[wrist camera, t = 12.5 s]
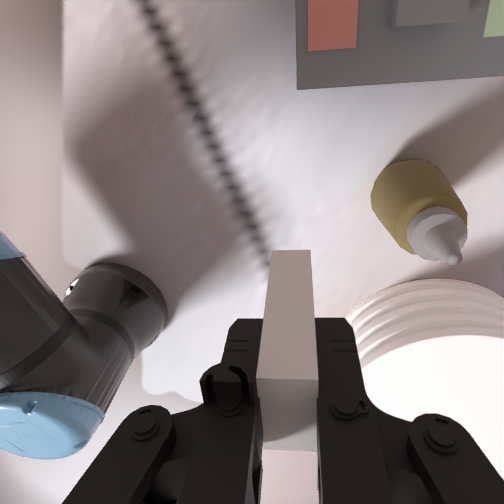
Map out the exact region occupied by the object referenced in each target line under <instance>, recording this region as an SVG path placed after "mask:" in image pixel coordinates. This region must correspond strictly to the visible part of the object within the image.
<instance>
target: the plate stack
mask: <svg viewBox="0 0 504 504" xmlns="http://www.w3.org/2000/svg"><path fill="white" fill-rule="evenodd" d="M345 319H346V320H347V321H348V322H349V324H350V325H351V326H352V327H353V330H354V335H355V340H356V345H357V350H358V355H359V360H360V365H361V370H362V375H363V381H364V386H365V390H366V393H367V396H368V397H369V399H370V400H371V402H372V403H373V404H374V405H375V406H376V407H377V408H379V409H380V410H382V411H383V412H385V413H387V414H390V415H392V416H394V417H398V418H401V419H404V420H407V421H411V422H412V421H413V420H414V419H415V418H416V417H417V416H420V415H422V414H425V413H437V414H440V415H444V416H447V417H450V418H451V419H453V420H455V421H456V422H458V423H460V424H461V425H462V426H463V427H464V428H465V429H466V430H467V431H468V432H469V433H470V435H471V436H472V437H473V439H474V440H475V441H476V443H477V444H478V446H479V447H480V448H481V450H482V451H483V453H484V454H485V455H486V457H487V458H488V459H489V461H490V462H491V464H492V465H493V466H494V468H495V469H496V471H497V472H498V473H499V475H500V476H501V477H502V478H503V477H504V298H503V297H501V296H500V295H498V294H497V293H495V292H493V291H491V290H489V289H487V288H485V287H483V286H480V285H477V284H474V283H470V282H466V281H461V280H454V279H423V280H416V281H410V282H406V283H402V284H398V285H395V286H392V287H389V288H387V289H384V290H382V291H380V292H378V293H376V294H374V295H372V296H370V297H368V298H367V299H365V300H364V301H362V302H361V303H360V304H358V305H357V306H356V307H355V308H353V309H352V310H351V311H350V312H349V313H348V314H347V315H346V317H345Z"/></svg>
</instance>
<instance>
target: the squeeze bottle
mask: <svg viewBox="0 0 504 504" xmlns="http://www.w3.org/2000/svg"><path fill="white" fill-rule="evenodd" d="M371 205H372V209H373V211H374V212H375V214H376V216H377V217H378V219H379V220H380V221H381V223H382V224H383V225H384V227H385V228H386V229H387V230H388V232H389V233H390V234H391V235H392V237H393V238H394V239H395V241H396V242H397V243H398V244H399V246H400V247H401V248H403V249H404V250H406V251H408V252H409V253H411V254H416V255H418V256H420V257H421V258H423V259H426V260H431V261H437V260H443V261H445V262H446V263H448V264H449V265H457V264H459V263H460V262H461V260H462V254H461V250H460V249H461V248H462V247H463V245H464V243H465V241H466V239H467V212H466V210H465V208H464V206H463V204H462V202H461V200H460V199H459V197H458V196H457V194H456V193H455V191H454V190H453V188H452V187H451V185H450V184H449V182H448V181H447V179H446V178H445V176H444V175H443V173H442V172H441V170H440V169H438V168H437V167H436V166H434V165H433V164H431V163H430V162H428V161H422V160H417V159H411V160H405V161H400V162H395V163H393V164H391V165H389V166H388V167H386V168H385V169H384V170H383V171H382V172H381V173H380V175H379V176H378V177H377V179H376V181H375V183H374V186H373V189H372V192H371Z"/></svg>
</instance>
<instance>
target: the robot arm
mask: <svg viewBox="0 0 504 504" xmlns="http://www.w3.org/2000/svg"><path fill="white" fill-rule="evenodd" d="M166 317H167V309H166V304H165V301H164V299H163V296H162V295H161V293H160V291H159V290H158V288H157V287H156V286H155V285H154V284H153V283H152V282H151V281H150V280H149V279H148V278H147V277H145V276H144V275H142V274H141V273H139V272H137V271H135V270H133V269H131V268H128V267H126V266H122V265H117V264H98V265H94V266H91V267H89V268H87V269H85V270H84V271H82V272H81V273H80V274H79V275H78V276H77V277H76V278H75V279H74V280H73V281H72V283H71V284H70V286H69V287H68V289H67V291H66V294H65V298H64V300H63V303H62V302H61V301H60V299H59V298H58V297H57V296H56V295H55V293H54V292H53V291H52V289H51V288H50V287H49V286H48V285H47V283H46V282H45V281H44V280H43V278H42V277H41V276H40V275H39V273H38V272H37V271H36V270H35V269H34V267H33V266H32V265H31V263H30V262H29V261H28V260H27V259H26V255H25V254H24V253H22V252H20V251H19V250H18V249H17V248H16V247H15V246H14V245H13V243H12V242H11V241H10V240H9V239H8V238H7V237H6V236H5V235H4V234H3V233H2V232H1V231H0V449H2V450H5V451H8V452H10V453H13V454H16V455H20V456H23V457H29V458H35V459H59V458H65V457H68V456H71V455H73V454H75V453H77V452H78V451H80V450H81V449H82V448H84V447H85V446H86V444H87V443H88V442H89V440H90V439H91V437H92V435H93V434H94V432H95V431H96V429H97V427H98V426H99V425H100V424H101V423H102V422H103V420H104V415H105V413H106V411H107V409H108V407H109V405H110V403H111V401H112V400H113V397H114V396H115V394H116V392H117V389H118V388H119V386H120V384H121V382H122V380H123V378H124V376H125V374H126V372H127V371H128V369H129V367H130V365H131V363H132V361H133V359H134V358H135V357H137V356H138V355H139V354H140V352H142V351H143V350H144V349H145V348H146V347H148V346H150V345H151V344H152V343H153V342H154V341H155V340H156V339H157V337H158V336H159V334H160V333H161V331H162V329H163V326H164V324H165V322H166ZM200 386H201V391H202V396H203V401H204V403H203V404H201V405H199V406H198V407H196V408H193V409H191V410H187V411H184V412H180V413H176V414H172V415H171V414H170V413H169V411H168V410H167V409H165V408H163V407H162V406H157V405H148V406H144V407H141V408H139V409H137V410H135V411H133V412H132V413H130V414H129V415H128V416H127V417H126V418H125V419H124V420H123V422H122V423H121V424H120V426H119V427H118V428H117V430H116V431H115V432H114V434H113V435H112V436H111V438H110V439H109V441H108V442H107V443H106V445H105V446H104V447H103V449H102V450H101V451H100V453H99V454H98V456H97V457H96V458H95V459H94V461H93V462H92V463H91V465H90V466H89V468H88V469H87V470H86V472H85V473H84V474H83V476H82V477H81V478H80V480H79V481H78V483H77V484H76V485H75V487H74V488H73V489H72V491H71V492H70V494H69V495H68V496H67V497H66V499H65V500H64V501H63V503H62V504H260V497H261V485H262V484H261V483H262V472H263V469H262V460H261V457H262V446H263V449H271V450H291V451H312V452H317V455H318V490H319V504H504V480H503V479H502V477H501V476H500V475H499V473H498V472H497V471H496V469H495V468H494V466H493V465H492V464H491V462H490V461H489V459H488V458H487V457H486V455H485V454H484V453H483V451H482V450H481V448H480V447H479V446H478V444H477V443H476V441H475V440H474V439H473V437H472V436H471V435H470V433H469V432H468V431H467V430H466V429H465V428H464V427H463V426H462V425H461V424H460V423H458V422H456V421H455V420H453V419H451V418H450V417H447V416H444V415H440V414H437V413H425V414H422V415H420V416H417V417H416V418H415V419H414V420H413V421H412V422H411V421H407V420H404V419H401V418H398V417H394V416H392V415H390V414H387V413H385V412H383V411H382V410H380V409H379V408H377V407H376V406H375V405H374V404H373V403H372V402H371V400H370V399H369V397H368V396H367V393H366V390H365V386H364V381H363V375H362V370H361V365H360V360H359V355H358V350H357V345H356V340H355V335H354V330H353V327H352V326H351V325H350V324H349V322H348V321H347V320H346V319H345V318H315V317H314V300H313V284H312V268H311V252H310V250H277V251H272V255H271V263H270V271H269V279H268V287H267V295H266V303H265V311H264V319H237V320H236V321H235V322H234V323H233V325H232V326H231V327H230V328H229V331H228V335H227V339H226V344H225V348H224V352H223V356H222V360H221V363H219V364H217V365H214V366H212V367H210V368H209V369H208V370H207V371H206V372H205V373H203V375H202V377H201V379H200Z"/></svg>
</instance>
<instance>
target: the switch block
mask: <svg viewBox="0 0 504 504" xmlns="http://www.w3.org/2000/svg"><path fill="white" fill-rule="evenodd" d="M296 61H297V90H303V89H318V88H333V87H348V86H362V85H377V84H392V83H407V82H421V81H436V80H451V79H466V78H480V77H495V76H504V0H296Z"/></svg>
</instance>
